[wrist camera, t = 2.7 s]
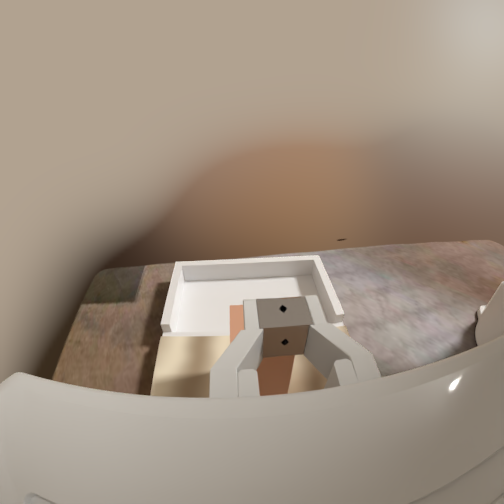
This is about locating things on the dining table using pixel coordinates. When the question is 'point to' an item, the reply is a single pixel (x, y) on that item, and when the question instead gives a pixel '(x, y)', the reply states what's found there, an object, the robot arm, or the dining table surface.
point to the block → (265, 361)
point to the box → (241, 291)
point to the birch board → (202, 360)
